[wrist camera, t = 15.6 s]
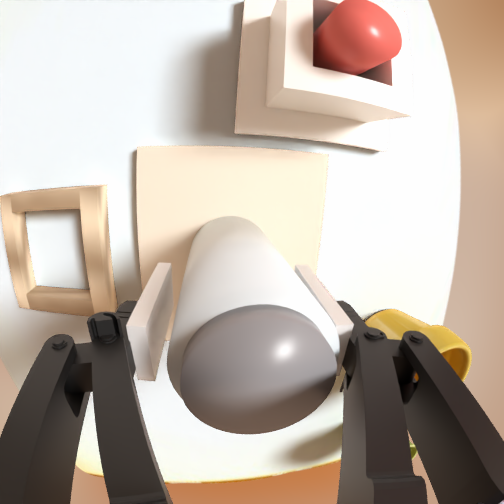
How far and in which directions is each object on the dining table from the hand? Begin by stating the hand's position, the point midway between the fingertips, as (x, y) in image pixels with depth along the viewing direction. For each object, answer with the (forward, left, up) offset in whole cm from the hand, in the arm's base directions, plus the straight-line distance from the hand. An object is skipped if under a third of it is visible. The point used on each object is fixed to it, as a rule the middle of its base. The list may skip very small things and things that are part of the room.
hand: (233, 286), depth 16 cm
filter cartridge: (0, 0, -5) cm, 5 cm away
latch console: (-15, +6, -6) cm, 17 cm away
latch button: (-15, +6, -2) cm, 16 cm away
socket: (0, -15, -6) cm, 16 cm away
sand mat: (0, 0, -6) cm, 6 cm away
